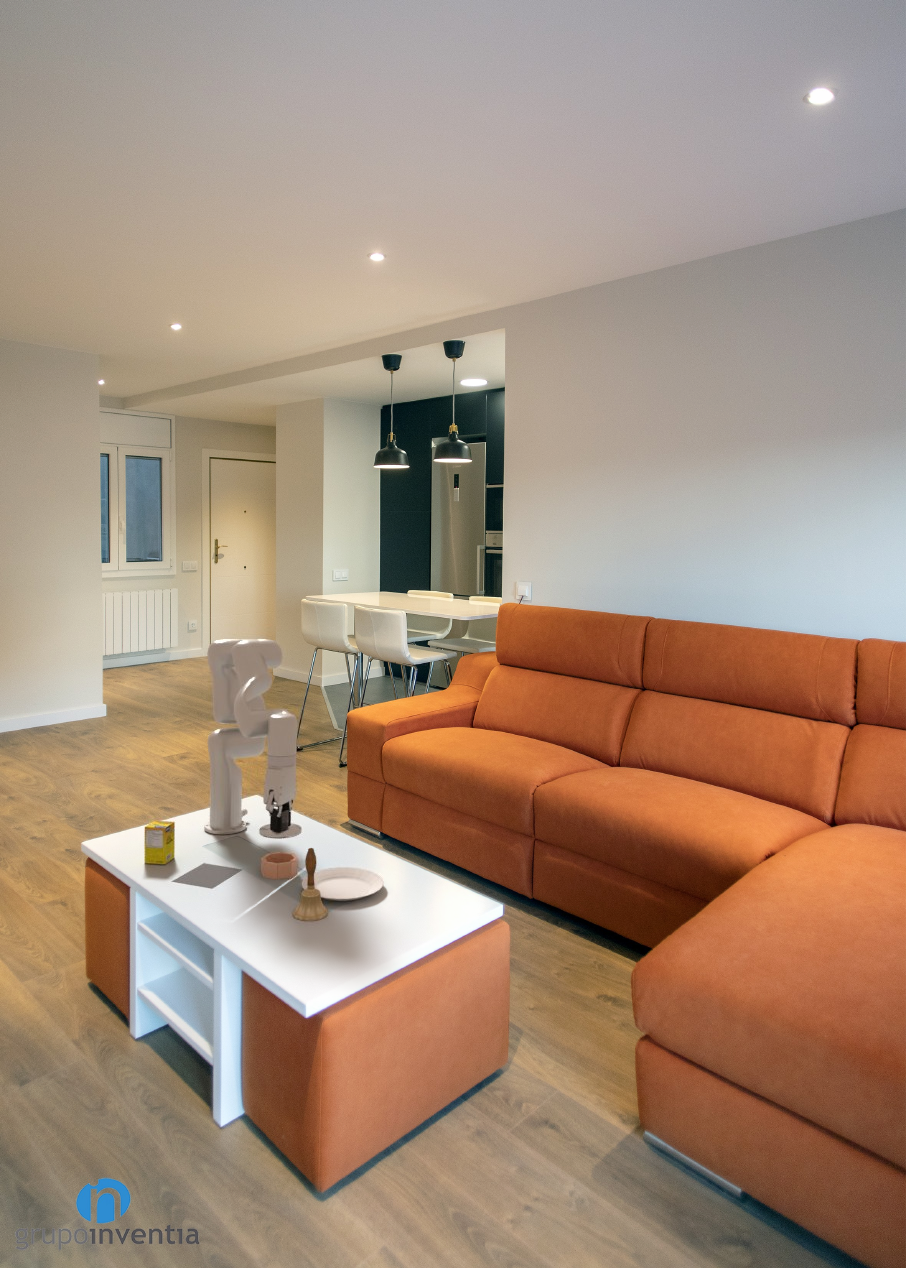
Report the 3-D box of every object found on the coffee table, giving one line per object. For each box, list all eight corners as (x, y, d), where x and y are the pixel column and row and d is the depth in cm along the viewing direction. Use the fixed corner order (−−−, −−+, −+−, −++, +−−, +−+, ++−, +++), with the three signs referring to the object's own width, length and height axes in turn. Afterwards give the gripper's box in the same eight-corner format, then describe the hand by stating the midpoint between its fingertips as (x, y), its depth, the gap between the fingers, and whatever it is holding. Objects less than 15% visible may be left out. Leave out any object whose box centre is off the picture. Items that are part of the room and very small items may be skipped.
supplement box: (174, 859, 222) (175, 821, 222) (165, 867, 217) (165, 827, 216) (154, 858, 223) (154, 819, 222) (143, 865, 217) (144, 826, 216)
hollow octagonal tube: (272, 866, 220) (273, 850, 220) (302, 870, 218) (302, 854, 217) (255, 877, 212) (255, 861, 211) (286, 882, 209) (286, 865, 209)
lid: (272, 823, 221) (273, 802, 220) (308, 828, 217) (309, 807, 217) (251, 835, 210) (251, 813, 210) (288, 840, 207) (289, 818, 206)
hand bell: (311, 924, 185) (313, 857, 184) (285, 915, 190) (286, 849, 189) (335, 912, 192) (336, 847, 191) (309, 903, 197) (310, 840, 196)
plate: (284, 895, 202) (284, 886, 201) (334, 869, 220) (334, 861, 220) (352, 914, 192) (352, 905, 192) (398, 885, 211) (398, 877, 210)
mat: (203, 865, 219) (203, 863, 219) (242, 871, 216) (242, 869, 216) (171, 883, 206) (171, 881, 206) (212, 890, 202) (212, 888, 202)
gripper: (284, 752, 221) (283, 817, 223) (252, 765, 205) (251, 835, 207) (309, 755, 219) (307, 821, 221) (278, 768, 203) (277, 839, 205)
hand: (280, 827), depth 214 cm, fingers closed on lid, 4 cm apart
